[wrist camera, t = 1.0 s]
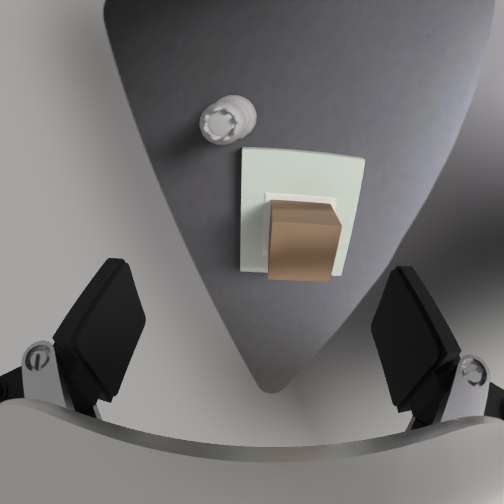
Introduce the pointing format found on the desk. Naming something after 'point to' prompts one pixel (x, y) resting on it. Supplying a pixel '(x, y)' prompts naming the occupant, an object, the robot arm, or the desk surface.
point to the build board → (294, 195)
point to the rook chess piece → (228, 120)
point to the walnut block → (302, 240)
